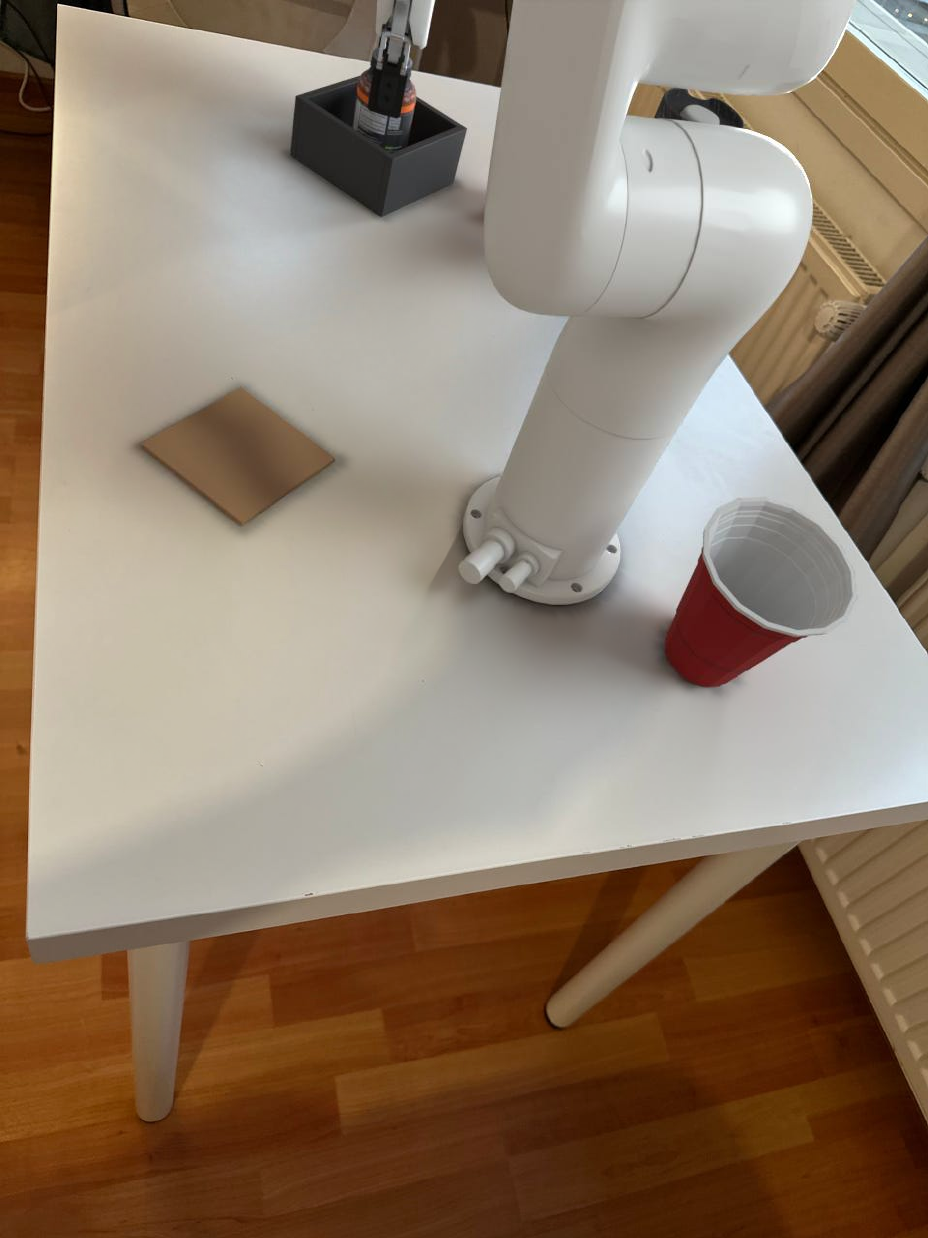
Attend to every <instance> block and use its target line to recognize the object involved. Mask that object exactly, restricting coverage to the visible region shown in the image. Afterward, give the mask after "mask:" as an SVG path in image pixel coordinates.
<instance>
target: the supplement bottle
mask: <svg viewBox="0 0 928 1238" xmlns="http://www.w3.org/2000/svg"><path fill="white" fill-rule="evenodd" d="M379 49H380V48H378V47H377V48H374V49H373V51H372V53H371V60H370V64H369V65H370V66H369V68H368V69H365V70H364V71H362V73H361V74H360V75H359V76H360V77H359V80H358V87H357V91H356V92H357V94H356V100H355V108H354V115H353V122H352V128H353V129H355V130H356V131H358V132H359V133H361V134H362V135H364V136H365V137H367V138H368V139H370V140H371V141H373V142H375V143H376V144H378V145H379V146H381V147H382V148H384V149H385V150H387V151H388V152H390V153H394V152H396V151H399V150H401V149H404V148H406V147H407V144H408V139H409V133H410V128H411V123H412V118H413V113H414V107H415V102H416V96H417V89H416V86H415V84H414V83H413V81H411V76H412V70H413V60H412V58H411V57H410V56H409V58H408V64H407V69H406V73H407V74H408V77H407V83H406V88H405V93H404V98H403V104H402V109H401V114H400V117H399V118H393V117H389V116H385V115H382V114H378V113H375V112H371V111H369V110H368V100H369V94H370V88H371V81H372V75H373V69H374V64H376V65H377V61H378V55H379ZM383 62H384V59H383Z"/></svg>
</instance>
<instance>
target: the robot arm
mask: <svg viewBox="0 0 928 1238" xmlns="http://www.w3.org/2000/svg"><path fill="white" fill-rule="evenodd" d="M857 1H858V0H513V2H512V8H511V15H510V21H509V29H508V35H507V42H506V43H507V44H506V49H505V56H504V64H503V69H502V70H503V72H502V77H501V84H500V91H499V92H500V93H499V99H498V105H497V112H496V119H495V125H494V134H493V140H492V145H491V146H492V147H491V153H490V160H489V168H488V176H487V184H486V191H485V199H484V210H483V213H484V214H483V249H484V257H485V264H486V268H487V271H488V275H489V278H490V281H491V282H492V284H493V286H494V288H495V290H496V292H497V293H498V294H499V295H500V296H501V298H503V299H504V301H506V302H507V303H509V304H510V305H511V306H513V307H515V308H516V309H518V310H520V311H523V312H526V313H530V314H535V315H541V316H551V317H552V316H553V317H569V318H568V320H567V321H566V322H565V324H564V326H563V327H562V329H561V331H560V333H559V335H558V336H557V338H556V341H555V343H554V345H553V348H552V350H551V353H550V355H549V357H548V360H547V363H546V364H545V366H544V367H545V368H544V370H543V373H542V375H541V377H540V380H539V383H538V385H537V387H536V390H535V392H534V394H533V396H532V399H531V402H530V404H529V407H528V409H527V412H526V414H525V417H524V419H523V421H522V424H521V426H520V429H519V431H518V434H517V436H516V439H515V442H514V443H513V445H512V446H513V447H512V449H511V451H510V453H509V456H508V458H507V461H506V463H505V466H504V468H503V470H502V473H501V475H498V476H495V477H492V478H491V479H489V480H486V481H485V482H484V483H482V484H481V485H479V487H478V488H477V489H475V491H474V492H473V494H472V496H471V497H470V498H469V500H468V503H467V506H466V508H465V510H464V513H463V520H462V533H463V534H462V535H463V537H464V542H465V545H466V547H467V549H468V551H469V554H468V555H467V556H466V557H465V558H463V560H461V561H460V562H459V564H458V567H457V568H458V573H459V574H460V576H461V578H462V579H463V580H464V581H465V582H466V583H469V584H471V585H478V584H479V583H480V582H481V581H482V580H483V579H484V578H485V577H486V576H488V577H489V578H490V579H491V580H492V581H493V582H494V583H496V584H497V585H499V586H500V588H501V589H502V590H503V592H506V593H509V594H514V595H516V596H518V597H520V598H523V599H526V600H529V601H532V602H535V603H540V604H546V605H551V606H552V605H553V606H554V605H555V606H556V605H560V606H563V605H564V606H568V605H573V604H578V603H579V604H580V603H581V602H582V603H583V602H585V601H589V600H590V599H593V598H594V597H596V596H597V595H599V594H600V593H601V592H603V591H604V589H606V587H607V586H608V585H609V584H610V583H611V581H612V579H613V578H614V576H615V574H616V573H617V571H618V568H619V565H620V562H621V552H622V551H621V544H620V538H619V536H618V530H619V528H620V527H621V525H622V523H623V521H624V520H625V518H626V517H627V515H628V513H629V512H630V510H631V508H632V507H633V505H634V503H635V502H636V500H637V498H638V496H639V495H640V493H641V492H642V490H643V488H644V486H645V485H646V483H647V482H648V480H649V478H650V477H651V475H652V473H653V471H654V470H655V469H656V467H657V465H658V463H659V462H660V460H661V458H662V456H663V455H664V454H665V451H666V450H667V448H668V447H669V445H670V444H671V441H672V440H673V439H674V437H675V435H676V433H677V431H678V430H679V428H680V427H681V426H682V424H683V423H684V421H685V419H686V418H687V417H688V414H689V413H690V412H691V409H692V408H693V406H694V405H695V403H696V401H697V400H698V398H699V396H700V395H701V393H702V392H703V390H704V389H705V387H706V385H707V384H708V382H709V381H710V379H711V378H712V377H713V376H714V374H715V372H716V371H717V369H718V368H719V367H720V365H721V364H722V363H723V362H724V360H725V359H726V357H727V356H728V355H729V354H730V352H731V351H732V350H733V349H734V348H735V347H736V346H737V344H738V343H739V342H740V341H741V340H742V339H743V338H744V336H746V334H747V333H748V332H749V331H750V330H751V329H752V328H753V327H754V325H755V324H756V323H758V321H759V320H760V319H761V318H762V317H763V316H764V314H766V312H768V310H769V309H770V308H771V307H772V306H773V304H774V303H775V302H776V300H777V299H778V298H779V297H780V295H781V294H782V293H783V291H784V290H785V288H786V287H787V286H788V284H789V283H790V281H791V279H793V276H794V274H795V273H796V272H797V269H798V267H799V265H800V264H801V261H802V259H803V256H804V254H805V252H806V248H807V246H808V243H809V240H810V235H811V230H812V226H813V225H812V224H813V215H814V214H813V213H814V205H813V194H812V191H811V186H810V182H809V178H808V177H807V175H806V172H805V170H804V168H803V166H802V165H801V164H800V163H799V161H798V160H797V159H796V157H795V156H794V155H793V154H792V152H791V151H789V150H788V149H787V148H786V147H785V146H783V145H782V144H781V143H779V142H777V141H776V140H774V139H772V138H771V137H768V136H766V135H763V134H761V133H758V132H756V131H752V130H750V129H746V128H744V129H741V128H736V127H731V126H725V125H717V124H709V123H700V122H691V121H682V120H674V119H665V118H658V119H656V118H654V117H646V116H638V115H631V114H628V112H629V111H628V110H629V107H630V104H631V102H632V99H633V96H634V93H635V91H636V89H637V86H638V84H643V85H649V86H650V85H651V86H659V87H665V88H666V87H668V88H681V89H687V90H688V91H699V92H706V93H713V94H715V93H716V94H721V95H723V94H724V95H734V96H749V97H773V96H778V95H784V94H788V93H792V92H795V91H796V90H798V89H801V88H803V87H805V86H806V85H807V84H809V83H810V82H811V81H813V80H814V79H815V78H816V77H817V76H818V75H819V74H820V73H821V72H822V71H823V70H824V69H825V68H826V66H827V64H828V63H829V62H830V60H831V58H832V57H833V55H834V54H835V52H836V50H837V48H838V47H839V44H840V42H841V41H842V38H843V36H844V34H845V30H846V29H847V26H848V23H849V22H850V19H851V16H852V14H853V11H854V9H855V6H856V4H857ZM376 2H377V3H376V14H375V15H376V16H375V30H374V31H375V33H376V34H377V36H378V37H379V39H378V45H377V48H380V49H379V55H378V61H377V65H376V64H374V69H373V75H372V81H371V88H370V94H369V100H368V110H369V111H371V112H375V113H378V114H382V115H385V116H389V117H393V118H399V117H400V114H401V109H402V104H403V98H404V93H405V88H406V83H407V77H408V74H407V73H406V69H407V64H408V58H409V57H410V54H411V49H412V45H413V46H417V47H418V50H423V49H425V48H426V47H427V45H428V38H429V33H430V27H431V22H432V16H433V13H434V7H435V4H436V3H435V2H436V0H376ZM383 59H384V62H383Z"/></svg>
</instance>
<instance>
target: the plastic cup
mask: <svg viewBox="0 0 928 1238" xmlns="http://www.w3.org/2000/svg"><path fill="white" fill-rule="evenodd" d="M857 600H858V590H857V577H856V570H855V569H854V567H853V564H852V563H851V561H850V559H849V557H848V554H847V553H846V551H845V549H844V547H843V545H842V544H841V543H840V542H839V540H837V539H836V537H834V535H833V534H832V533H831V532H830V531H829V530H828V529H827V528H826V527H825V526H824V525H823V524H822V523H821V521H819V520H817V519H815V518H814V517H812V516H811V515H809V514H808V513H806V512H804V511H803V510H801V509H799V508H798V507H796V506H794V505H793V504H789V503H786V502H782V501H779V500H776V499H773V498H769V497H765V496H760V497H759V496H754V497H736V498H735V499H733V500H731V501H728V502H727V503H725V504H723V505H720V506H718V507H717V508H716V509H715V511H714V512H713V514H712V515H711V517H710V518H709V520H708V521H707V523H706V525H705V526H704V528H703V532H702V547H701V551H700V555H699V557H698V559H697V564H696V565H695V568H694V570H693V572H692V574H691V577H690V579H689V581H688V583H687V585H686V588H685V590H684V591H683V594H682V596H681V598H680V600H679V603H678V605H677V607H676V609H675V614H674V617H673V618H672V621H671V623H670V625H669V626H668V629H667V631H666V636H665V639H664V652H665V655H666V657H667V659H668V662H669V664H670V665H671V667H673V669H674V670H675V671H676V672H677V673H678V675H680V676H681V677H683V678H684V679H685V680H687V681H689V683H692V684H694V685H697V686H701V687H704V688H715V687H721V686H722V685H726V684H728V683H729V682H731V681H733V680H734V679H736V678H738V677H739V676H741V675H742V674H743V673H745V672H748V671H750V670H752V669H753V668H755V667H756V666H758V665H759V664H761V663H762V662H764V661H765V660H767V659H768V658H771V657H772V656H773V655H775V654H777V653H778V652H780V651H782V650H783V649H785V648H786V647H788V646H790V645H791V644H792V643H793V644H794V643H797V642H799V641H800V640H801V639H806V638H808V637H811V636H822V635H823V636H824V635H826V634H828V633H830V632H831V631H833V630H834V629H836V628H837V627H839V626H840V625H842V624H844V623H846V622H847V621H848V620H849V618H850V616H851V614H852V611H853V609H854V607H855V605H856V603H857Z"/></svg>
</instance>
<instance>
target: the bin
mask: <svg viewBox="0 0 928 1238" xmlns="http://www.w3.org/2000/svg"><path fill="white" fill-rule="evenodd" d="M359 77H360V75H358V76H354V77H351V78H348V79H344V80H341V81H338V82H335V83H332V84H329V85H326V86H322V87H319V88H316V89H313V90H309V91H306V92H303V93H300V94H297V95H295V97H294V107H293V108H294V109H293V110H294V111H293V120H292V128H291V129H292V130H291V138H290V139H291V140H290V151H289V155H290V156H291V157H292V158H294V159H295V160H297V161H299V162H300V163H301V164H303V165H304V166H306V167H307V168H309V169H310V170H312V171H313V172H315V173H316V174H318V175H319V176H321V177H322V178H323V179H325V180H326V181H328V182H329V183H331V184H333V185H334V186H336V187H337V188H338V189H340V190H341V191H343V192H344V193H346V194H347V195H349V196H350V197H352V198H353V199H355V200H356V201H358V202H359V203H360V204H362V205H364V206H365V207H367V208H368V209H369V210H371V211H372V212H375V214H377V215H379V216H380V217H382V218H383V217H385V216H387V215H389V214H391V213H393V212H395V211H397V210H399V209H402V208H404V207H405V206H408V205H410V204H412V203H415V202H417V201H418V200H420V199H423V198H425V197H428V196H429V195H432V194H433V193H436V192H438V191H439V190H442V189H444V188H446V187H448V186H451V185H453V184H454V183H455V178H456V176H457V171H458V166H459V163H460V158H461V156H462V155H461V154H462V151H463V147H464V143H465V140H466V135H467V131H468V128H467V127H466V126H464V125H462V124H461V123H459V122H458V121H456V120H455V119H453V118H452V117H450V116H449V115H447V114H445V113H443V112H442V111H440V110H439V109H437V108H436V107H434V106H433V105H431V104H429V102H427V101H425V100H423V99H422V98H420V97H418V96H417V95H416V102H415V107H414V113H413V118H412V123H411V128H410V133H409V139H408V144H407V147H406V148H404V149H401V150H399V151H396V152H394V153H390V152H388V151H387V150H385V149H384V148H382V147H381V146H379V145H378V144H376V143H375V142H373V141H371V140H370V139H368V138H367V137H365V136H364V135H362V134H361V133H359V132H358V131H356V130H355V129H353V128H352V122H353V115H354V108H355V100H356V94H357V92H356V91H357V87H358V80H359Z"/></svg>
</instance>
